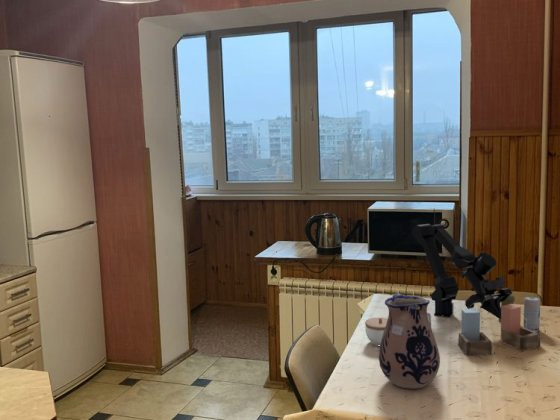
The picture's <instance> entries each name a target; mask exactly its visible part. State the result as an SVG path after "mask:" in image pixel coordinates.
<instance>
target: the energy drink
mask: <svg viewBox="0 0 560 420" xmlns="http://www.w3.org/2000/svg"><path fill="white" fill-rule="evenodd" d="M540 316H541V298H539V297H538V296H537V297H536V296H525V297H524V301H523V327H524V328H526V329H529V330H532V331H535V332H539V331H540V324H541V323H540V322H541V321H540V318H541V317H540Z"/></svg>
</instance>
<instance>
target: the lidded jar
mask: <svg viewBox="0 0 560 420" xmlns="http://www.w3.org/2000/svg"><path fill="white" fill-rule="evenodd" d="M387 320H388V317H372V318H368V319H366V320H365V321H364V325H365V334H366V337H367V339H368V340H369V341H370V343H371V344H372V343H373V344H375V345H374V346H376V345H380V344H381V340H382V336H383V333H384V330H385V327H386V323H387ZM373 344H372V345H373Z"/></svg>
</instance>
